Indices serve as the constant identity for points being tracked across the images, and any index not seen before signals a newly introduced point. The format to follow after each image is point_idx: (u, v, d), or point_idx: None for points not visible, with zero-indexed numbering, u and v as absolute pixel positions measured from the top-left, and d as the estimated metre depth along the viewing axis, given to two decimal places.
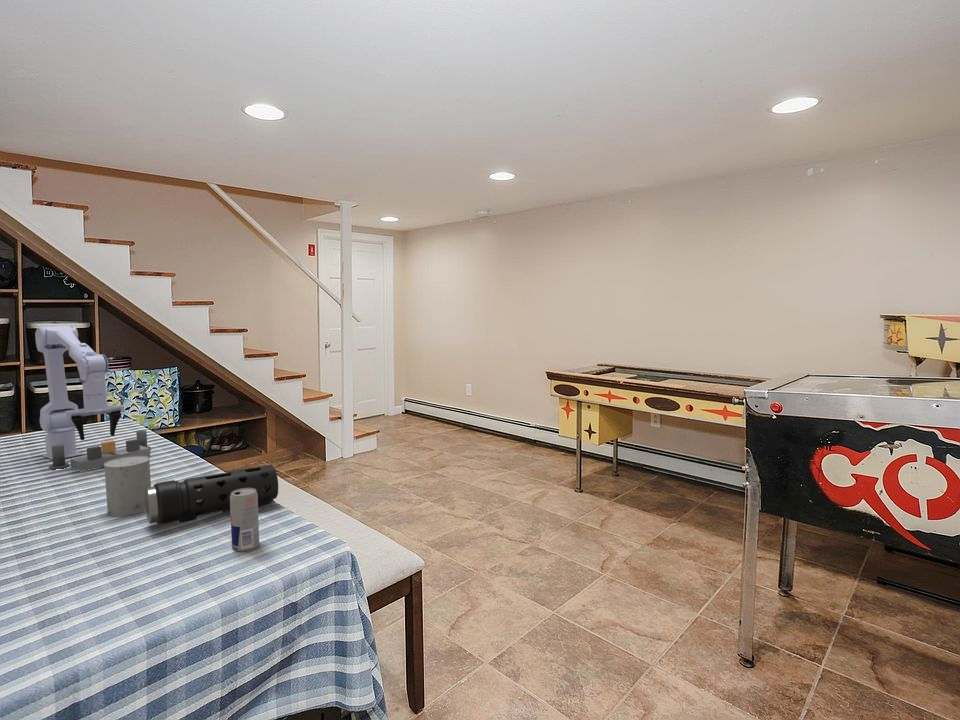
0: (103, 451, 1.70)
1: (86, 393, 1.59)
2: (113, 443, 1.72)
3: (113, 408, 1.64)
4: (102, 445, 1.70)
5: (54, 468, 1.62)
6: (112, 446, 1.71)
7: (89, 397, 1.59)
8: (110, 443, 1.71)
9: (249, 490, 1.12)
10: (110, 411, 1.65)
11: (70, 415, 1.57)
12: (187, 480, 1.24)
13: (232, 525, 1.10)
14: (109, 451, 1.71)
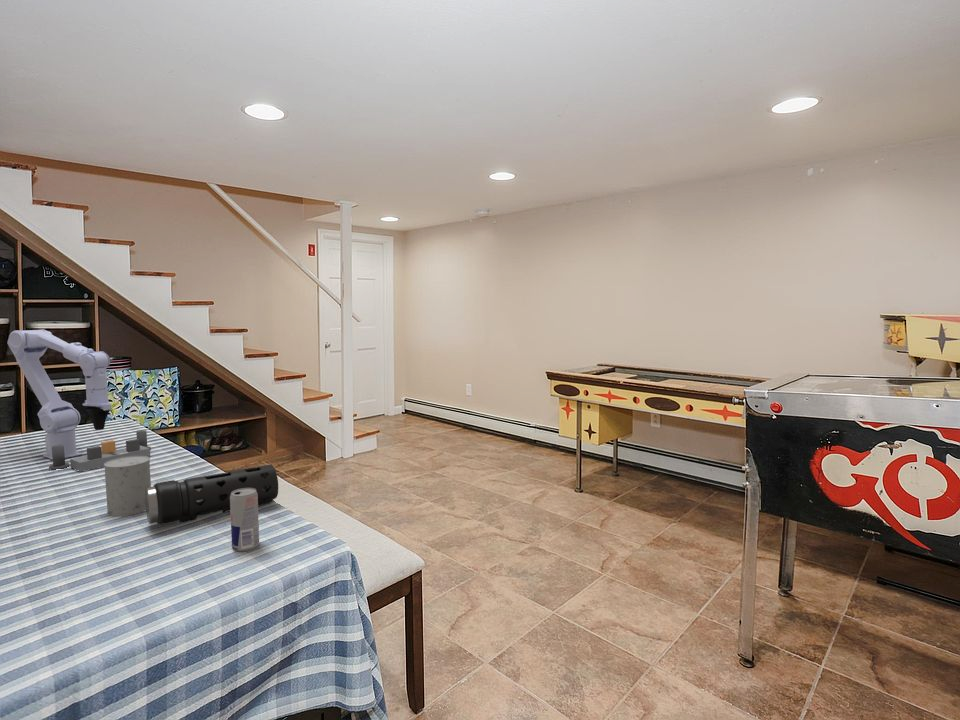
0: (103, 451, 1.70)
1: (92, 387, 1.70)
2: (113, 443, 1.72)
3: (97, 405, 1.70)
4: (102, 445, 1.70)
5: (54, 468, 1.62)
6: (112, 446, 1.71)
7: None
8: (110, 443, 1.71)
9: (249, 490, 1.12)
10: (101, 407, 1.71)
11: None
12: (187, 480, 1.24)
13: (232, 525, 1.10)
14: (109, 451, 1.71)
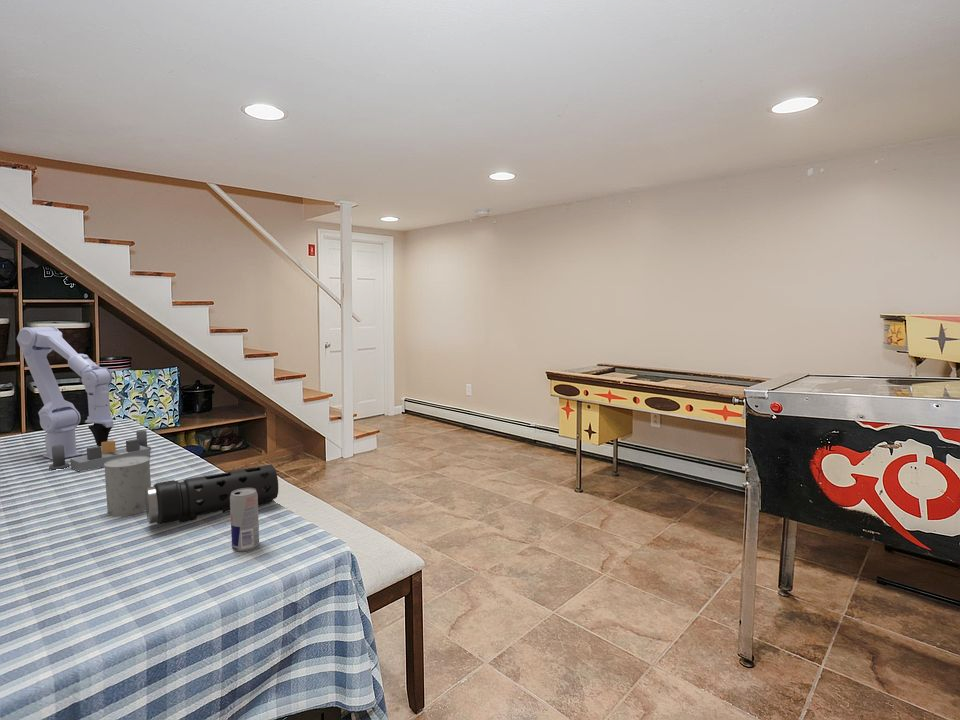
0: (103, 451, 1.70)
1: (94, 404, 1.70)
2: (113, 443, 1.72)
3: (99, 422, 1.70)
4: (102, 445, 1.70)
5: (54, 468, 1.62)
6: (112, 446, 1.71)
7: None
8: (110, 443, 1.71)
9: (249, 490, 1.13)
10: (104, 424, 1.71)
11: None
12: (187, 480, 1.24)
13: (232, 525, 1.10)
14: (109, 451, 1.71)
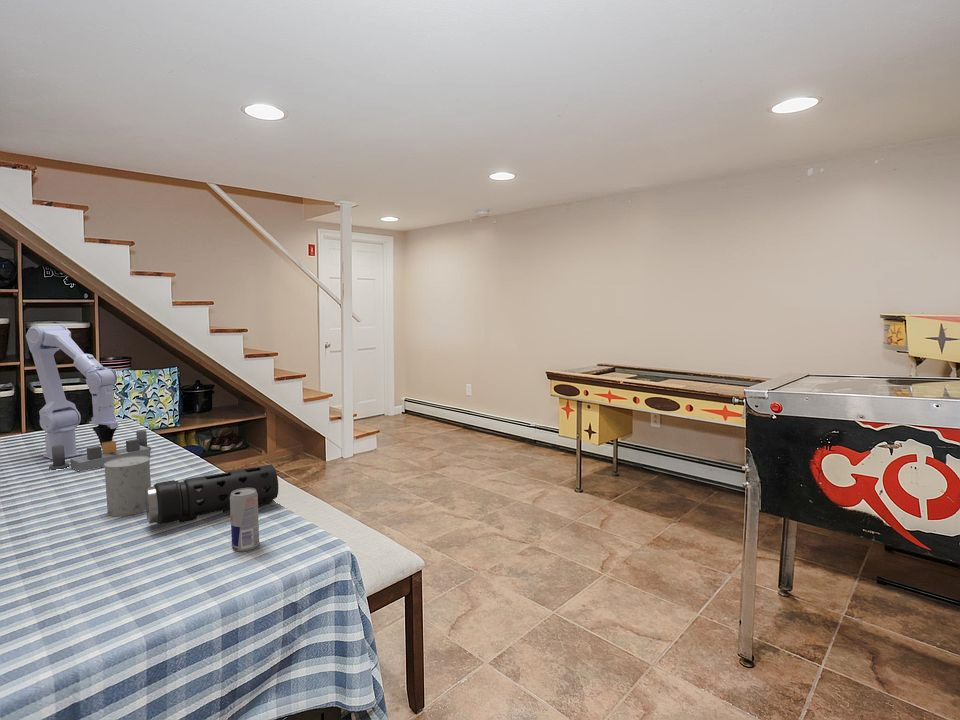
0: (104, 451, 1.70)
1: (98, 406, 1.68)
2: (114, 443, 1.71)
3: (104, 423, 1.68)
4: (103, 445, 1.70)
5: (54, 468, 1.62)
6: (113, 446, 1.71)
7: None
8: (111, 443, 1.71)
9: (249, 490, 1.12)
10: (108, 425, 1.69)
11: (92, 421, 1.74)
12: (187, 480, 1.24)
13: (232, 525, 1.10)
14: (110, 451, 1.71)
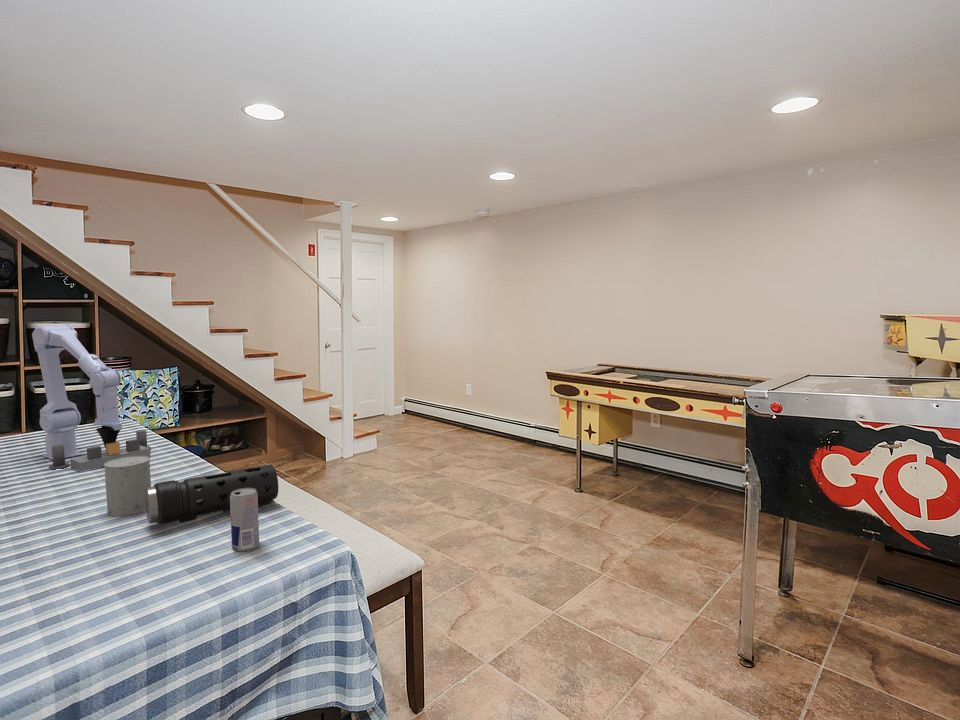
0: (108, 453, 1.68)
1: (101, 407, 1.67)
2: (118, 444, 1.70)
3: (108, 424, 1.66)
4: (107, 447, 1.68)
5: (54, 468, 1.62)
6: (117, 448, 1.70)
7: None
8: (115, 444, 1.69)
9: (249, 490, 1.12)
10: (112, 427, 1.68)
11: None
12: (187, 480, 1.24)
13: (232, 525, 1.10)
14: (114, 453, 1.69)
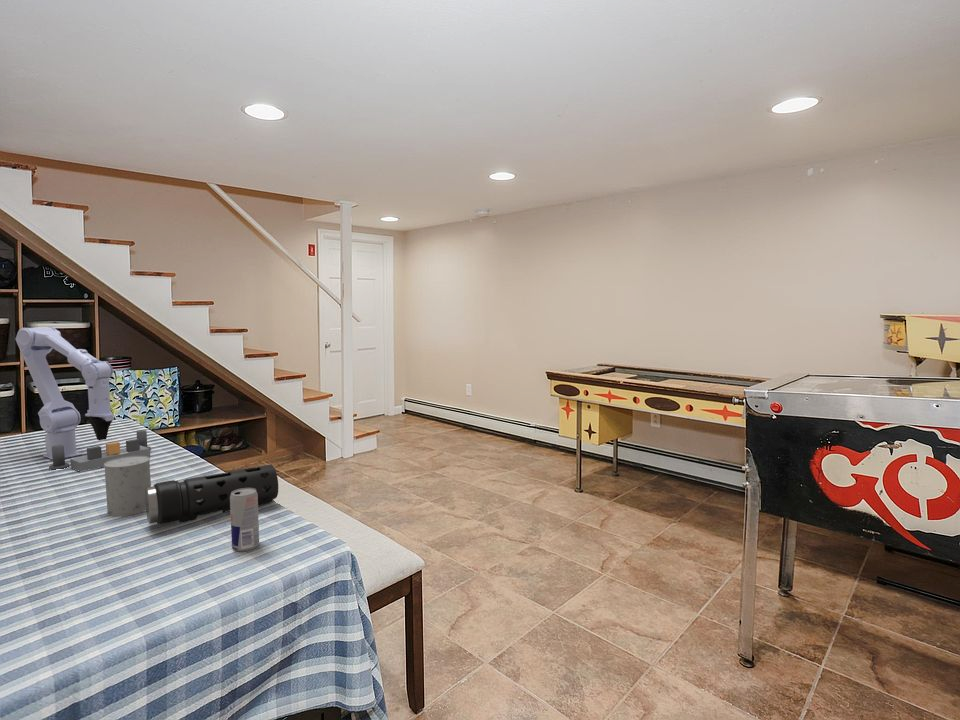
0: (108, 453, 1.68)
1: (94, 398, 1.70)
2: (118, 444, 1.70)
3: (99, 415, 1.69)
4: (107, 447, 1.68)
5: (54, 468, 1.62)
6: (117, 448, 1.70)
7: None
8: (115, 444, 1.69)
9: (249, 490, 1.13)
10: (104, 418, 1.71)
11: None
12: (187, 480, 1.25)
13: (232, 525, 1.10)
14: (114, 453, 1.69)
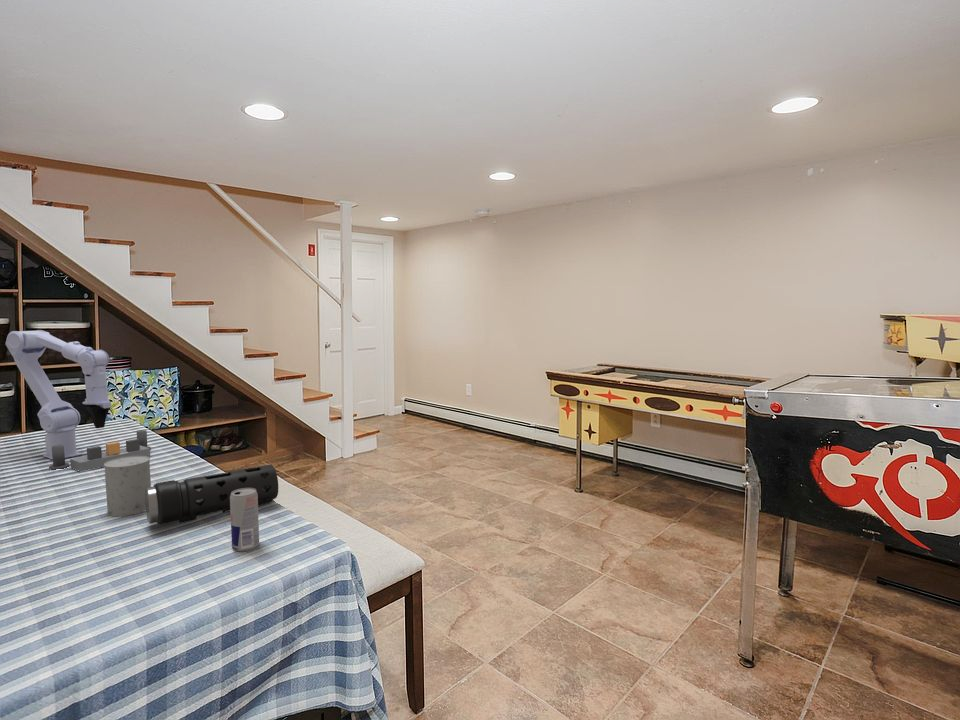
0: (108, 453, 1.68)
1: (92, 386, 1.70)
2: (118, 444, 1.70)
3: (97, 403, 1.70)
4: (107, 447, 1.68)
5: (54, 468, 1.62)
6: (117, 448, 1.70)
7: None
8: (115, 444, 1.69)
9: (249, 490, 1.13)
10: (101, 405, 1.71)
11: None
12: (187, 480, 1.24)
13: (232, 525, 1.10)
14: (114, 453, 1.69)
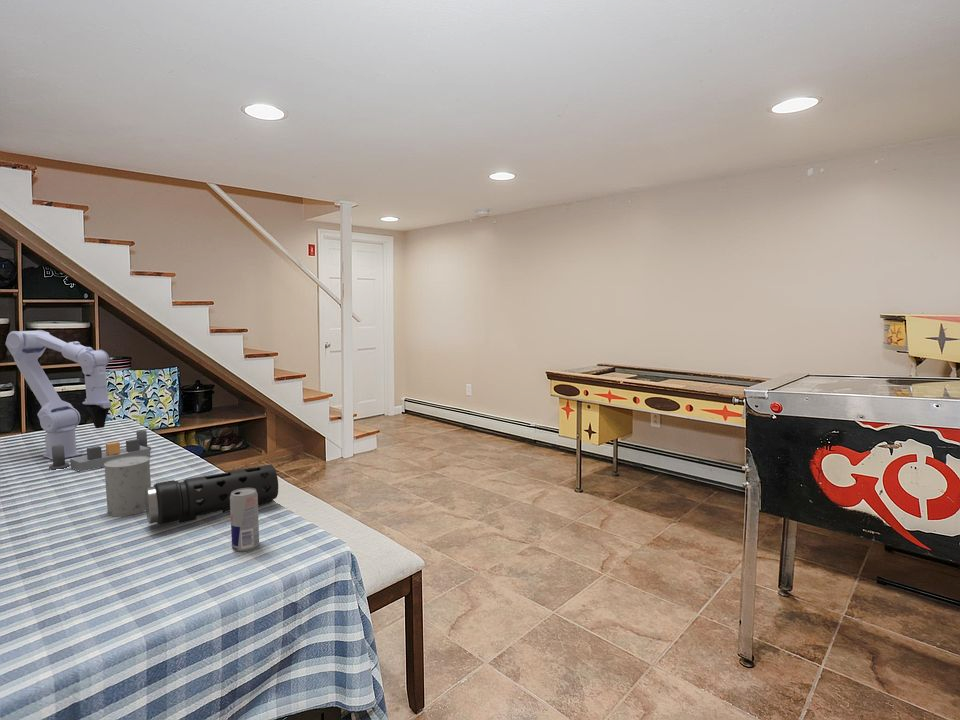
0: (108, 453, 1.68)
1: (92, 386, 1.70)
2: (118, 444, 1.70)
3: (97, 403, 1.70)
4: (107, 447, 1.68)
5: (54, 468, 1.62)
6: (117, 448, 1.70)
7: None
8: (115, 444, 1.69)
9: (249, 490, 1.12)
10: (101, 405, 1.71)
11: None
12: (187, 480, 1.25)
13: (232, 525, 1.10)
14: (114, 453, 1.69)
